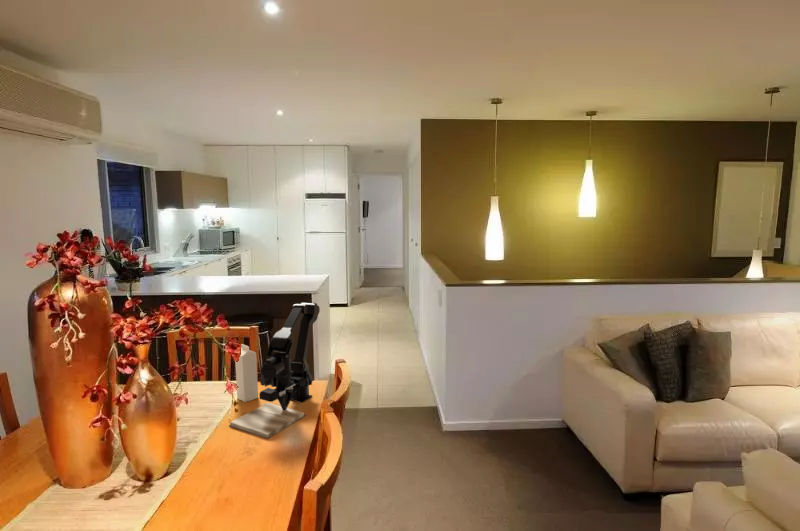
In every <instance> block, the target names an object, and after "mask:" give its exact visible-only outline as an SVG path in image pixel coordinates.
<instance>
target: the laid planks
mask: <svg viewBox="0 0 800 531" xmlns="http://www.w3.org/2000/svg"><path fill="white" fill-rule="evenodd" d="M290 424H291V425H293V424H292V420H289V419H286V418H283V417H279V416H276V415H272V414H269V413H265V412H262V411H259V410H256V409H253V410H251V411H249V412H247V413H246V414H243V415H241V416H239V417H238V418H235V419H234V420H232V421H230V422H229V425H230V426H233V427H236V428H240V429H243V430H246V431H249V432H252V433H255V434H258V435H261V436H264V437H267V438H268V437H270V436H271V437H273V436H274V435H273V434H275V433H276V434H278V433H279V432H278V431H280V430H281V431H283V430H284V429H283V428H285V427H286V428H288V427H289V426H288V425H290ZM291 425H290V426H291ZM230 426H229V427H230ZM287 426H288V427H287ZM233 427H232V428H233ZM236 428H235V429H236ZM286 428H285V429H286ZM282 429H283V430H282ZM281 431H280V432H281ZM277 432H278V433H277ZM276 434H275V435H276ZM272 435H273V436H272ZM271 437H270V438H271ZM268 439H269V438H268Z"/></svg>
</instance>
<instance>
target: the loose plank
mask: <svg viewBox="0 0 800 531" xmlns="http://www.w3.org/2000/svg"><path fill="white" fill-rule="evenodd" d="M255 410H259V411H262V412H265V413H269V414H272V415H276V416H279V417H283V418H286V419H289V420H292V423H293V422H295V421H296V420H298V419H300V418H301V417H303V416H304V415H305V413H304V412H302V411H299V410H296V409H291V408H289V407H287V409H286V410H283V409H282V407H281V405H278V404H274V403H271V402H266V403H264V404H263V405H260V406H259V407H257V408H255ZM303 418H304V417H303ZM301 419H302V418H301ZM301 419H300V420H301ZM298 421H299V420H298ZM296 422H297V421H296ZM296 422H295V423H296ZM293 424H294V423H293Z"/></svg>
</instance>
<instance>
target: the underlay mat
mask: <svg viewBox="0 0 800 531" xmlns="http://www.w3.org/2000/svg"><path fill="white" fill-rule="evenodd" d="M305 417H306V414H304V416H303V417H301V418H300V419H298V420H296V421H295V422H293V423H292V424H290V425H288V426H287V427H285V428H283V429H282V430H280V431H278V432H277V433H275V434H273V435H272V436H270V437H268V438H267V437H264V436H261V435H258V434H255V433H252V432H249V431H246V430H243V429H240V428H236V427H233V426H230V424H229V425H228V427H231V428H234V429H236V430H239V431H243V432H246V433H249V434H252V435H254V436H257V437H260V438H263V439H270V438H272V437H273V436H274V435H277V434H278V433H280V432H282V431H283V430H285V429H286V428H289V427H290V426H291V425H293V424H295V423H296V422H298V421H300V420H302V419H304V418H305Z"/></svg>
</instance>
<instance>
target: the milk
mask: <svg viewBox="0 0 800 531" xmlns="http://www.w3.org/2000/svg"><path fill="white" fill-rule="evenodd" d="M240 348H241V355H240V357H239V361H238V362H236V361H235V360H234V361H235V362H234V363H235V378H236V380H235V381H236V387H237V386H238V387H239V389H238V390H237V389H236V397H237V399H238V400H240V401H241V400H242V401H241V402H243V403H247V401H248V402H251V401H253V400H257V399H258V398H259V388H258V387H259V386H258V385H259V384H258V368H257V367H258V365H257V352H255V351H252V350H250V347H249V346H248V345H246V344H243V343H241V347H240Z"/></svg>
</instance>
